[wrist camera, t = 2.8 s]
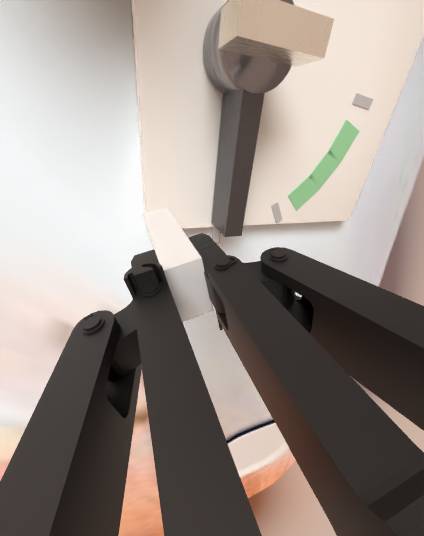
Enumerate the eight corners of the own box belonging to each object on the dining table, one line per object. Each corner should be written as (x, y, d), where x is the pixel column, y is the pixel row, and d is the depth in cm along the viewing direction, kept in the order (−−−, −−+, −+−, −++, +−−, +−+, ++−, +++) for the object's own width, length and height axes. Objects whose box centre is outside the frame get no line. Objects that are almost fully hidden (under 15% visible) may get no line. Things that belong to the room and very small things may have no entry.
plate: (310, 402, 56) (315, 409, 55) (281, 452, 69) (284, 458, 67) (214, 436, 47) (217, 445, 46) (200, 486, 59) (202, 495, 58)
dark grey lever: (202, -8, 13) (248, -74, 8) (276, 15, 14) (346, -30, 10) (191, 223, 19) (214, 252, 15) (242, 221, 21) (276, 247, 17)
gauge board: (124, -116, 11) (126, -146, 10) (416, 9, 19) (438, 1, 17) (146, 239, 20) (148, 247, 19) (334, 228, 28) (345, 233, 27)
